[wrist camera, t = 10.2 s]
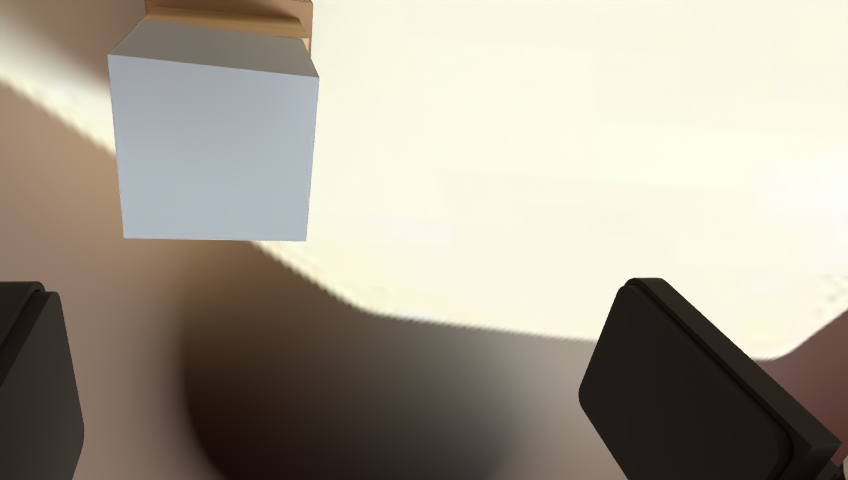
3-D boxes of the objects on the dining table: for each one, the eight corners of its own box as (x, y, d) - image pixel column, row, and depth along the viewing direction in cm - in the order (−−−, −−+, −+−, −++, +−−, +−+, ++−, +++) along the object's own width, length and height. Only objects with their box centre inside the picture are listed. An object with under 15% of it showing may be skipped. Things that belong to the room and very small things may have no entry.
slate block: (143, 18, 19) (107, 54, 14) (302, 39, 21) (319, 77, 16) (152, 165, 22) (124, 238, 17) (293, 172, 24) (305, 241, 19)
